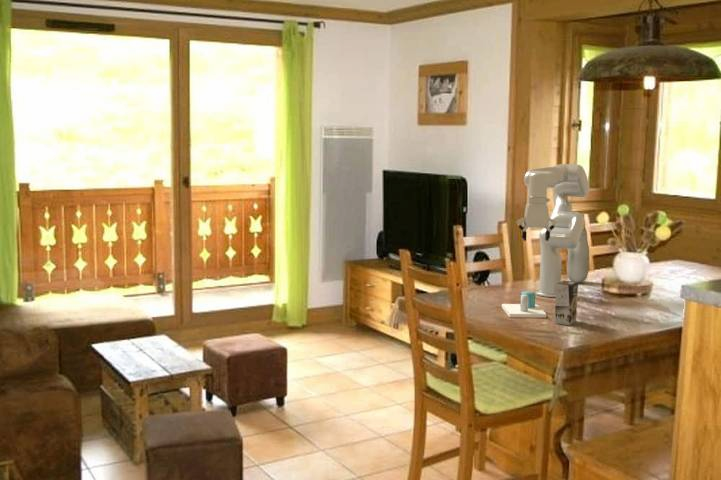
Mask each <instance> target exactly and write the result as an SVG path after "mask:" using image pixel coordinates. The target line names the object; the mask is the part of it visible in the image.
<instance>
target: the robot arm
mask: <svg viewBox="0 0 721 480" xmlns="http://www.w3.org/2000/svg"><path fill="white" fill-rule="evenodd" d="M523 183H524V185H525V186H526V187H527V188H528V200H527V201H528V203H526V204H525V209H524V214H523V215H524V217H521V218H520V219H518V220H516V223H515V224H516V225H517V226H518V228H519V229H520V230H521V239H522V240H523V241H527V231H526V230H528V228H542V229H541V230H540V231H539V238H538V239H539V247H540V264H539V284H538V285H539V288H538V290H536V291H535V295H536V296H540V297H546V298H556V286H557V283H559V282H561V280H562V279H561V278H562V263H563V262H562V261H563V258H562V255H561V253H560V251H559V249H561V250H562V249H565V250H568V249H574V248H576V246H577V244H578V242H579V239H580V236H581V233H582V230H583V228H584V226H585V217H584V215H583V214H582V213H581V212H578V211H573V206H572V203H571V201H570V200H569V199H568V198H567V197H573V198H574V197H575V198H584V197H586V196H588V195H589V193H590V189H591V188H590V183H589V178H588V176H587V173H586V170H585V169H584V167H583V166H582V165H581V164H574V163H573V164H571V163H569V164H568V163H567V164H566V163H561V164H556V165H554V166H553V165H552V166H547V167H540V168H532V169H529V170H528V171H527V172H525V175H524V177H523ZM547 189H548V190H549V189H552V190H551V191H552V199H553V204H554V205H553V209H552V211H551V214H549V213H550V211H549V205H548V203H549V202H550V201H551V199H550V198H548V197H547V192H548V190H547ZM522 223H523V225H522Z"/></svg>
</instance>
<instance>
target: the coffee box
mask: <svg viewBox="0 0 721 480" xmlns="http://www.w3.org/2000/svg"><path fill="white" fill-rule="evenodd" d="M578 290H579V283H578V282H575V281H571V280H562V281H561V282H559V283H557V286H556V297H555V304H554V305H555V306H554V307H555V309H554V324H559V325H566V326H570V325H572V324H573V323H575V322H576V321H577V313H578V310H577V308H578V295H579V294H578V293H579V291H578Z"/></svg>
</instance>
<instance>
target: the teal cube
mask: <svg viewBox="0 0 721 480" xmlns="http://www.w3.org/2000/svg"><path fill="white" fill-rule="evenodd" d="M520 293H521V294H520V296H521V295H528V308H535V304H536V291H535V292H534V291H531V290H528V291H527V290H526V291H525V290H524V291H521V292H520ZM519 304H520V307H521V301H520V303H519Z"/></svg>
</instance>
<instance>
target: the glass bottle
mask: <svg viewBox="0 0 721 480" xmlns="http://www.w3.org/2000/svg"><path fill="white" fill-rule="evenodd" d="M566 262H567V264H566V266H567V267H566V273H567V278H568V279H569V281H575V282H578V284H582V283H583V282H585V281H586V279H587V278H588V275H589V266H590V265H589V263H590V247H589V242H588V231H587V230H586V228H584V227H583V230H582V233H581V236H580V239H579V242H578V244H577V246H576V248H574V249H567V261H566Z"/></svg>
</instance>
